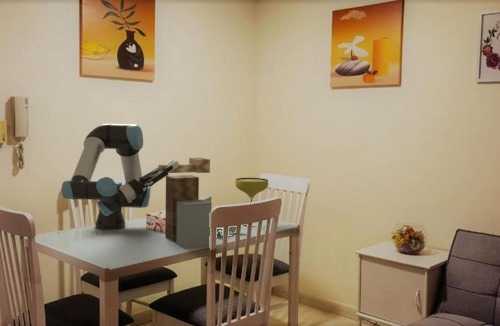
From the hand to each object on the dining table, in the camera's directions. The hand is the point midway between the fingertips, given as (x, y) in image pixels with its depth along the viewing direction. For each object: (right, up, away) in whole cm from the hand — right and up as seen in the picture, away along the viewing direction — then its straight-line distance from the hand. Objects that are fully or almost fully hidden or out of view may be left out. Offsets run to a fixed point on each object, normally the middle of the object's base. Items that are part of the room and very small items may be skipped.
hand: (176, 162), depth 244 cm
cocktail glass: (+33, -34, +56) cm, 74 cm away
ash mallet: (+3, -4, +2) cm, 6 cm away
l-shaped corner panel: (+22, -37, +29) cm, 52 cm away
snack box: (+6, -34, +50) cm, 61 cm away
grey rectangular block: (+7, -38, +8) cm, 40 cm away
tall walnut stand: (0, -37, +21) cm, 42 cm away
